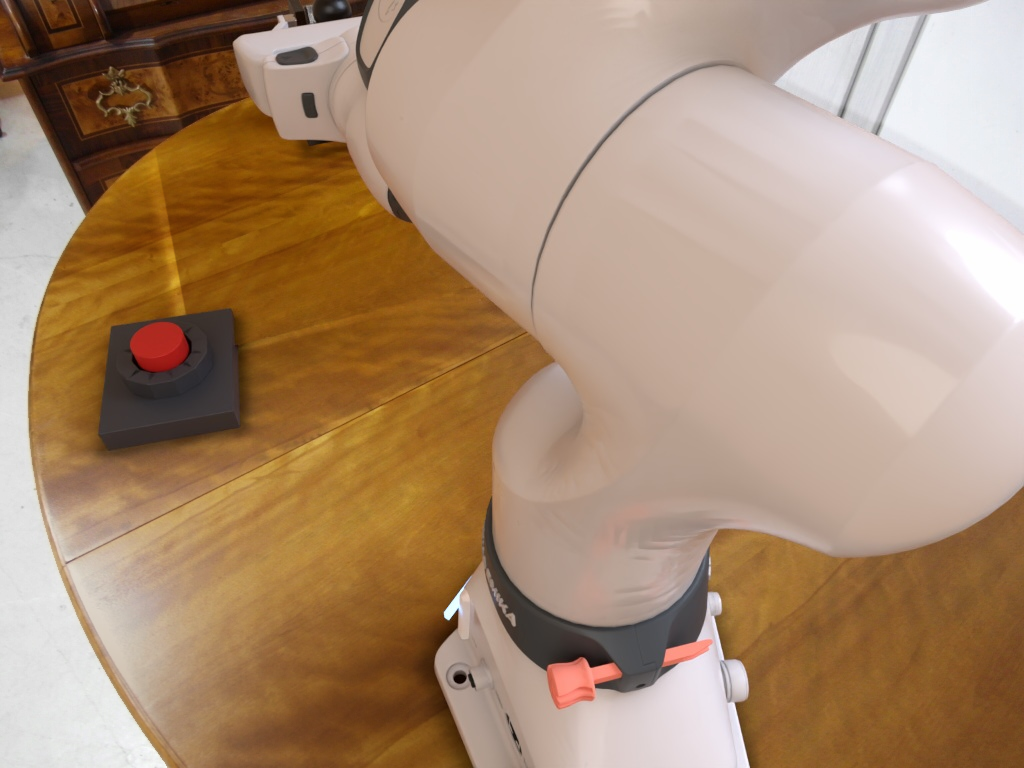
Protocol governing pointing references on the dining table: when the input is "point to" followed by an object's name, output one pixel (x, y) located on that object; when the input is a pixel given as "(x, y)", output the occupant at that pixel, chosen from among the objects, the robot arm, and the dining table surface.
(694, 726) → the robot arm
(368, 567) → the dining table surface
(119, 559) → the dining table surface
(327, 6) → the lever
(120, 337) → the button box
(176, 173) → the dining table surface
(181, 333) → the button
